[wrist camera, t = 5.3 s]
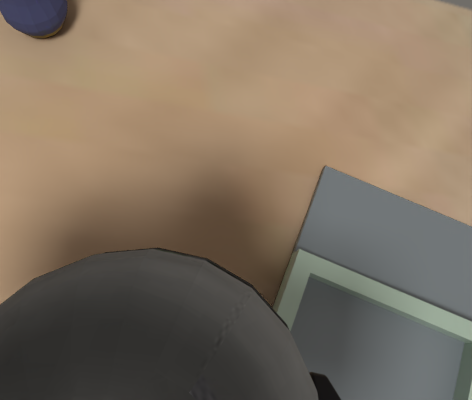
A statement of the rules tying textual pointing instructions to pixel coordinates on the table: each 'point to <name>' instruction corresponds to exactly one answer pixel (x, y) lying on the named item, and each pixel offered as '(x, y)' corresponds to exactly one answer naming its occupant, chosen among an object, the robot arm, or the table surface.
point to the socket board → (380, 294)
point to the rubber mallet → (35, 16)
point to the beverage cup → (146, 334)
